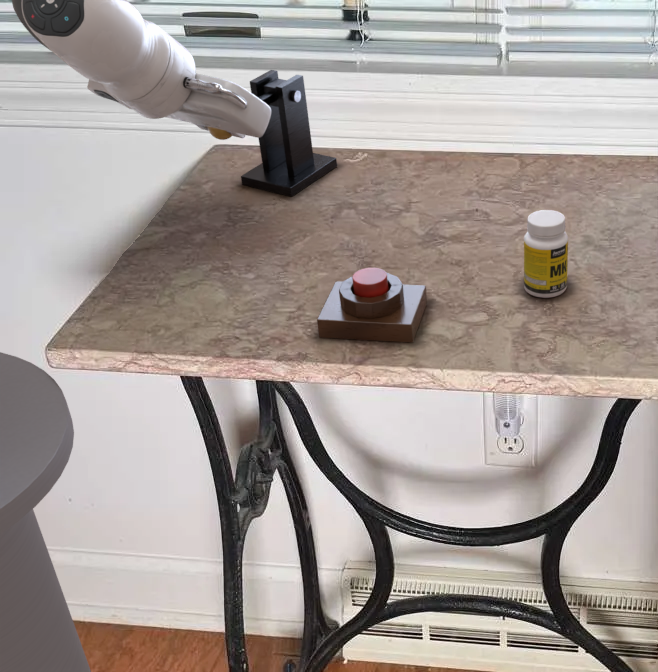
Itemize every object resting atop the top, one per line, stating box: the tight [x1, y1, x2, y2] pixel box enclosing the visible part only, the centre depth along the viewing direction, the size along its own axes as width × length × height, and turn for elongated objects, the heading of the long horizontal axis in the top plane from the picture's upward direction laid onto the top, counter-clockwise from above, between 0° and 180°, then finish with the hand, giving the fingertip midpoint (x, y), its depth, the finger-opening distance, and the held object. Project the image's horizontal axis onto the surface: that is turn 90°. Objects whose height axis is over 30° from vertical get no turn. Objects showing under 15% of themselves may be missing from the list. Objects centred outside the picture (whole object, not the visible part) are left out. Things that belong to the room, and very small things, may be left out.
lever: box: [208, 77, 287, 141], centre depth 144 cm, size 14×3×3 cm, turn 150°
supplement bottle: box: [523, 209, 569, 299], centre depth 127 cm, size 5×5×8 cm
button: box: [351, 267, 388, 298], centre depth 123 cm, size 4×4×2 cm
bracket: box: [240, 69, 338, 198], centre depth 150 cm, size 10×8×13 cm
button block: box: [316, 272, 428, 343], centre depth 125 cm, size 10×8×4 cm
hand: (226, 128), depth 141 cm, fingers closed on lever, 3 cm apart
